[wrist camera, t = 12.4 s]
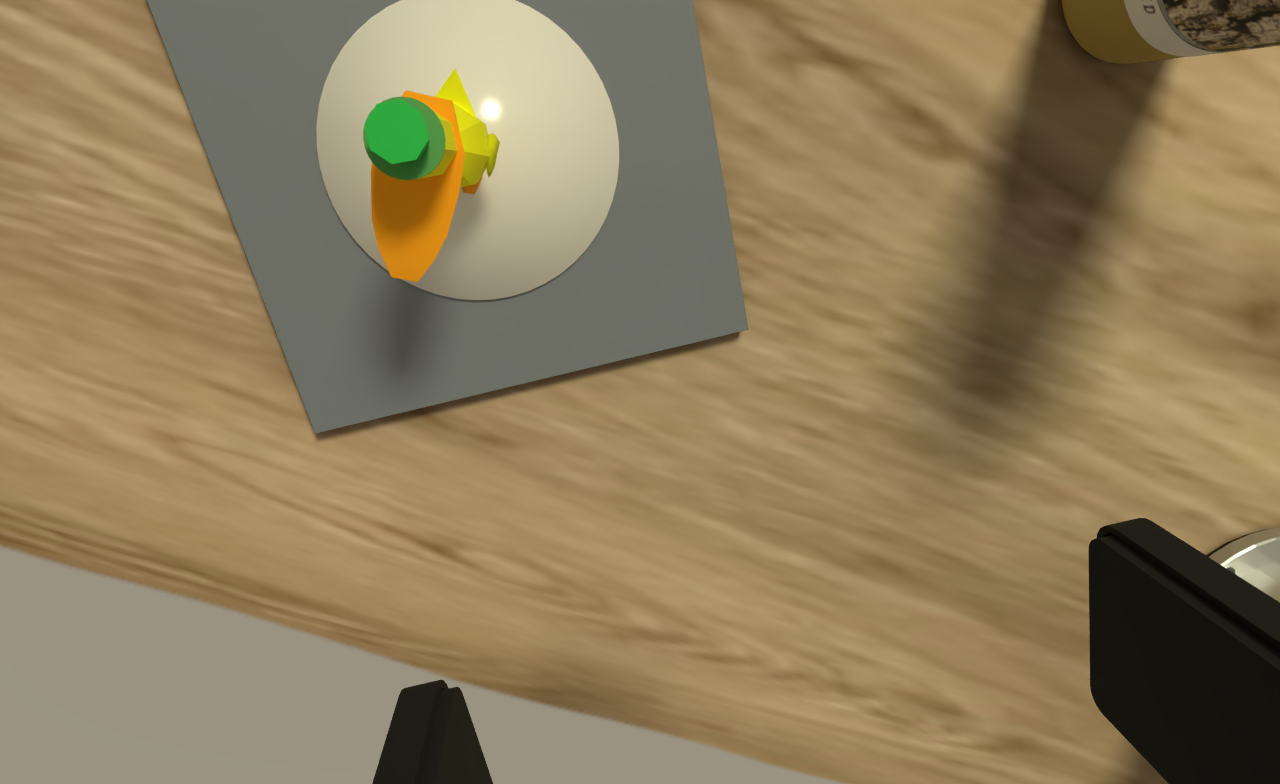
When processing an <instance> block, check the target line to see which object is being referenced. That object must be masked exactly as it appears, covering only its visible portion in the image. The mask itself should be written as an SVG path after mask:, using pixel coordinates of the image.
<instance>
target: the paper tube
mask: <svg viewBox="0 0 1280 784" xmlns="http://www.w3.org/2000/svg"><path fill="white" fill-rule="evenodd" d="M1062 7H1063V12H1064V16H1065V20H1066V22H1067V25H1068V27H1069V29H1070V31H1071V33H1072V35H1073V36H1074V38H1075V39H1076V41H1077V42H1078V43H1079V44H1080V45H1081V47H1082V48H1083V49H1085V50H1086V51H1087V52H1088V53H1089V54H1091V55H1093V56H1094V57H1096V58H1098V59H1100V60H1103V61H1106V62H1111V63H1117V64H1133V63H1141V62H1149V61H1156V60H1164V59H1172V58H1180V57H1191V56H1201V55H1209V54H1217V53H1224V52H1231V51H1240V50H1248V49H1256V48H1264V47H1272V46H1279V45H1280V0H1062Z"/></svg>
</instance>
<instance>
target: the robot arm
mask: <svg viewBox="0 0 1280 784" xmlns="http://www.w3.org/2000/svg"><path fill="white" fill-rule="evenodd" d="M1089 615H1090V687H1091V692H1092V696H1093V699H1094V701H1095V703H1096V705H1097V707H1098V708H1099V710H1100V711H1101V712H1102V714H1103V715H1104V716H1105V717H1106V718H1107V719H1108V720H1109V721H1110V722H1111V723H1112V724H1113V725H1114V727H1115V728H1116V729H1117V730H1118V731H1119V732H1120V733H1121V734H1122V735H1123V736H1124V737H1125V738H1126V739H1127V740H1128V741H1129V742H1130V743H1131V744H1132V745H1133V746H1134V747H1135V749H1136V750H1137V751H1138V752H1139V753H1140V754H1141V755H1142V756H1143V757H1144V758H1145V759H1146V760H1147V761H1148V762H1149V763H1150V764H1151V765H1152V766H1153V767H1154V768H1155V770H1156V771H1157V772H1158V773H1159V774H1160V775H1161V776H1162V777H1163V778H1164V779H1165V780H1166V781H1167V782H1168V783H1169V784H1280V528H1271V529H1268V530H1264V531H1260V532H1256V533H1252V534H1250V535H1247V536H1245V537H1243V538H1240V539H1238V540H1236V541H1233V542H1231V543H1229V544H1228V545H1226V546H1224V547H1223V548H1221V549H1219V550H1218V551H1216V552H1215V553H1213V554H1211V555H1210V556H1209V557H1207V556H1206V555H1204V554H1203V553H1201V552H1200V551H1198V550H1196V549H1195V548H1193V547H1192V546H1190V545H1188V544H1187V543H1185V542H1184V541H1182V540H1181V539H1179V538H1177V537H1176V536H1174V535H1173V534H1171V533H1170V532H1168V531H1166V530H1165V529H1163V528H1162V527H1160V526H1159V525H1157V524H1155V523H1154V522H1152V521H1150V520H1148V519H1146V518H1137V519H1133V520H1129V521H1124V522H1120V523H1116V524H1111V525H1107V526H1104V527H1102V528H1100V530H1099V532H1098V533H1097V539H1094V540H1092V541H1091V542H1090V544H1089ZM373 784H493V782H492V779H491V776H490V773H489V770H488V767H487V764H486V761H485V758H484V756H483V752H482V750H481V746H480V744H479V741H478V738H477V735H476V732H475V729H474V726H473V723H472V720H471V717H470V714H469V711H468V708H467V705H466V703H465V699H464V696H463V694H462V691H461V690H460V688H459V687H454V688H450V689H449V688H448V686H447V684H446V683H445V681H443V680H438V681H434V682H429V683H425V684H420V685H416V686H412V687H408V688H404V689H403V690H401V693H400V695H399V698H398V701H397V704H396V708H395V711H394V714H393V717H392V721H391V724H390V728H389V731H388V734H387V738H386V741H385V744H384V747H383V750H382V754H381V757H380V760H379V764H378V767H377V770H376V774H375V777H374V780H373Z"/></svg>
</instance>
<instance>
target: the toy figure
mask: <svg viewBox="0 0 1280 784" xmlns="http://www.w3.org/2000/svg"><path fill="white" fill-rule="evenodd" d="M363 142H364V147H365V150H366V152H367V154H368V157H369V158H370V160H371V161H372V166H371V210H372V223H373V228H374V232H375V237H376V241H377V246H378V249H379V252H380V254H381V256H382V258H383V260H384V262H385V265H386V267H387V269H388V271H389V273H390V275H391V277H393V278H398V279H404V280H409V281H414V282H418V281H419V280H420V279H421V277H422V276H423V275H424V273H425V272H426V271H427V269H428V268H429V267H430V265H431V264H432V263H433V261H434V260H435V258H436V257H437V255H438V253H439V251H440V249H441V247H442V245H443V243H444V241H445V239H446V237H447V235H448V232H449V228H450V225H451V221H452V217H453V214H454V210H455V206H456V203H457V199H458V195H459V191H460V187H462V190H463V193H470V194H475V192H476V190H477V188H478V186H479V184H480V182H481V180H482V175H483V173H484V172H485V170H486V168H487V174H488V177H490V176H491V174H492V172H493V170H494V168H495V163H496V158H497V153H498V149H499V144H500V141H499V140H498V138H497V136H496V135H495V134H493V133H491V134H489V136H488V132H487V128H486V124H485V123H483V122H482V121H480V120H479V119H478V118H476V115H475V113H474V111H473V108H472V106H471V104H470V101H469V99H468V96H467V94H466V92H465V89H464V87H463V85H462V82H461V80H460V77H459V75H458V73H457V70H456V68H455V69H454V70H453V72H452V73H451V75H450V76H449V77H448V79H447V80H446V82H445V83H444V84H443V86H442V87H441V89H440V90H439V91H438V93H437V94H436V96H435V97H433V96H429V95H424V94H420V93H415V92H411V91H405V92H404V93H403V95H402V96H401V97H393V98H389V99H387V100H384V101H382V102H381V103H378V104H376V106H375V107H374V109H373V110H372V111H371V112H370V113H369V115H368V117H367V119H366V121H365V124H364V129H363Z"/></svg>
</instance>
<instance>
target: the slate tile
mask: <svg viewBox="0 0 1280 784" xmlns="http://www.w3.org/2000/svg"><path fill="white" fill-rule="evenodd" d="M147 1H148V4H149V7H150V9H151V12H152V14H153V17H154V20H155V22H156V25H157V27H158V30H159V32H160V35H161V38H162V40H163V43H164V45H165V48H166V50H167V53H168V56H169V58H170V61H171V63H172V66H173V68H174V71H175V74H176V76H177V79H178V81H179V84H180V86H181V89H182V92H183V94H184V97H185V99H186V102H187V104H188V107H189V110H190V112H191V115H192V117H193V120H194V122H195V125H196V128H197V130H198V133H199V135H200V138H201V141H202V143H203V146H204V148H205V151H206V153H207V156H208V159H209V161H210V164H211V166H212V169H213V171H214V174H215V177H216V179H217V182H218V184H219V187H220V189H221V192H222V195H223V197H224V200H225V202H226V205H227V207H228V210H229V213H230V215H231V218H232V220H233V223H234V225H235V228H236V231H237V233H238V236H239V238H240V241H241V243H242V246H243V249H244V251H245V254H246V256H247V259H248V262H249V264H250V267H251V269H252V272H253V274H254V277H255V280H256V282H257V285H258V287H259V290H260V292H261V295H262V298H263V300H264V303H265V305H266V308H267V310H268V313H269V316H270V318H271V321H272V323H273V326H274V328H275V331H276V334H277V336H278V339H279V341H280V344H281V346H282V349H283V352H284V354H285V357H286V359H287V362H288V364H289V367H290V370H291V372H292V375H293V377H294V380H295V383H296V385H297V388H298V390H299V393H300V395H301V398H302V401H303V403H304V406H305V408H306V411H307V413H308V416H309V419H310V421H311V424H312V426H313V429H314V431H315V433H319V432H323V431H327V430H332V429H336V428H340V427H344V426H348V425H353V424H357V423H361V422H365V421H369V420H373V419H378V418H382V417H386V416H390V415H394V414H398V413H403V412H407V411H411V410H415V409H419V408H423V407H428V406H432V405H436V404H440V403H444V402H449V401H453V400H457V399H461V398H465V397H469V396H474V395H478V394H482V393H486V392H490V391H494V390H499V389H503V388H507V387H511V386H515V385H519V384H524V383H528V382H532V381H536V380H540V379H545V378H549V377H553V376H557V375H561V374H565V373H570V372H574V371H578V370H582V369H586V368H590V367H595V366H599V365H603V364H607V363H611V362H615V361H620V360H624V359H628V358H632V357H636V356H641V355H645V354H649V353H653V352H657V351H661V350H666V349H670V348H674V347H678V346H682V345H686V344H691V343H695V342H699V341H703V340H707V339H711V338H716V337H720V336H724V335H728V334H732V333H737V332H741V331H745V330H748V324H747V318H746V312H745V306H744V300H743V294H742V288H741V283H740V277H739V271H738V265H737V259H736V253H735V247H734V241H733V235H732V229H731V223H730V217H729V212H728V206H727V200H726V194H725V188H724V182H723V176H722V170H721V164H720V158H719V152H718V147H717V141H716V135H715V129H714V123H713V117H712V111H711V105H710V99H709V93H708V87H707V82H706V76H705V70H704V64H703V58H702V52H701V46H700V40H699V34H698V28H697V22H696V16H695V11H694V5H693V0H147ZM455 68H456V70H457V73H458V75H459V77H460V80H461V82H462V85H463V87H464V89H465V92H466V94H467V96H468V99H469V101H470V104H471V106H472V108H473V111H474V113H475V115H476V118H478V119H479V120H480V121H482V122H483V123H485V124H486V128H487V132H488V136H489V134H491V133H493V134H495V135H496V136H497V138H498V140H499V141H500V144H499V149H498V153H497V158H496V163H495V168H494V170H493V172H492V174H491V176H490V177H488V174H487V168H486V170H485V172H484V173H483V175H482V180H481V182H480V184H479V186H478V188H477V190H476V192H475V194H470V193H463V190H462V187H460V191H459V195H458V199H457V203H456V206H455V210H454V214H453V217H452V221H451V225H450V228H449V232H448V235H447V237H446V239H445V241H444V243H443V245H442V247H441V249H440V251H439V253H438V255H437V257H436V258H435V260H434V261H433V263H432V264H431V265H430V267H429V268H428V269H427V271H426V272H425V273H424V275H423V276H422V277H421V279H420V280H419V281H418V282H414V281H409V280H404V279H398V278H393V277H391V275H390V273H389V271H388V269H387V267H386V265H385V262H384V260H383V258H382V256H381V254H380V252H379V249H378V246H377V241H376V237H375V232H374V228H373V223H372V210H371V166H372V161H371V160H370V158H369V157H368V154H367V152H366V150H365V147H364V142H363V129H364V124H365V121H366V119H367V117H368V115H369V113H370V112H371V111H372V110H373V109H374V107H375V106H376V104H378V103H381V102H382V101H384V100H387V99H389V98H393V97H401V96H402V95H403V93H404V92H405V91H411V92H415V93H420V94H424V95H429V96H433V97H435V96H436V94H437V93H438V91H439V90H440V89H441V87H442V86H443V84H444V83H445V82H446V80H447V79H448V77H449V76H450V75H451V73H452V72H453V70H454V69H455Z"/></svg>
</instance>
